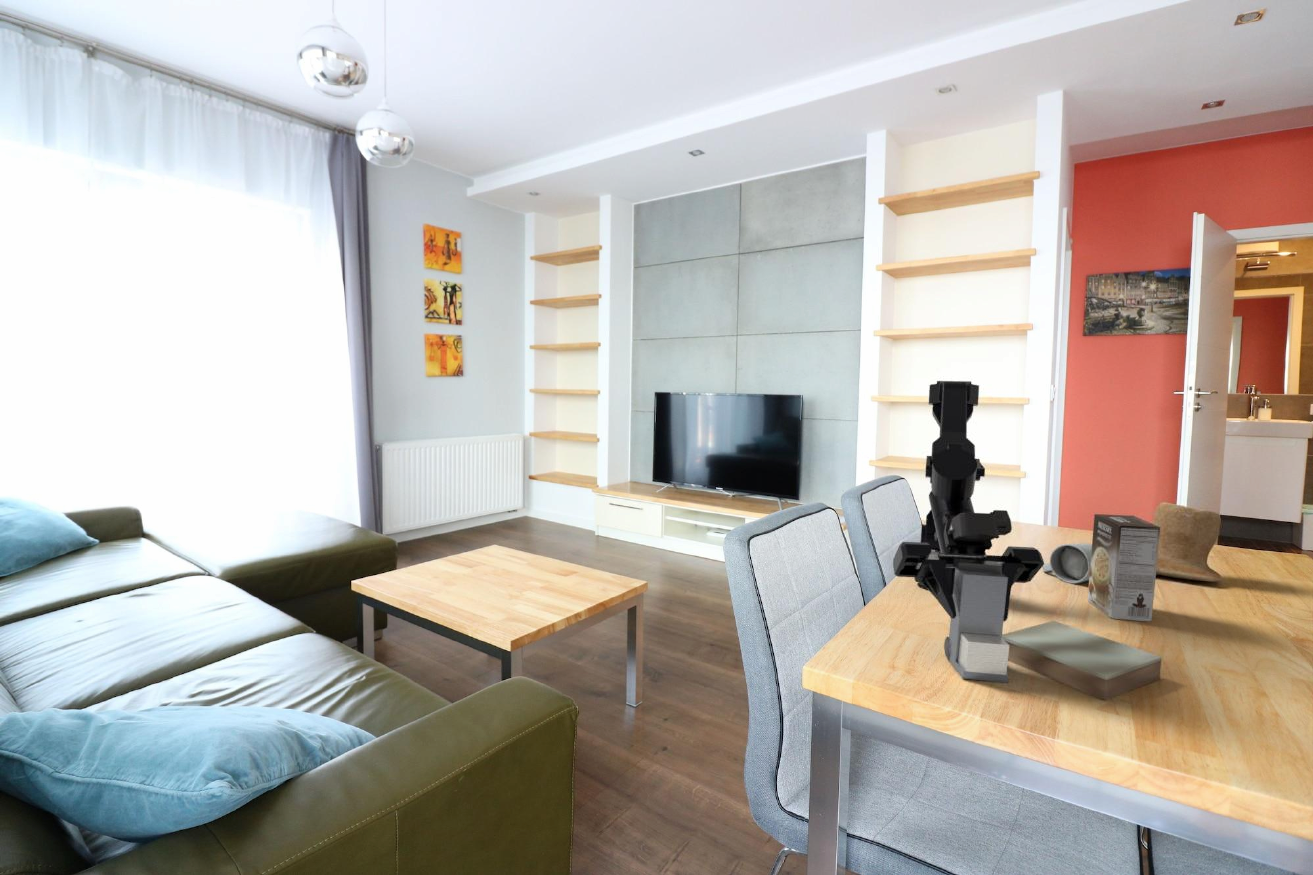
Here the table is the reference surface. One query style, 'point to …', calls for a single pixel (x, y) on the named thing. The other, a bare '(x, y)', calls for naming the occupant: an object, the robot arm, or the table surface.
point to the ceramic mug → (1070, 562)
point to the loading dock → (1082, 659)
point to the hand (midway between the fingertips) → (979, 618)
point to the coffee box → (1123, 566)
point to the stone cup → (1186, 541)
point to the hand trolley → (978, 621)
